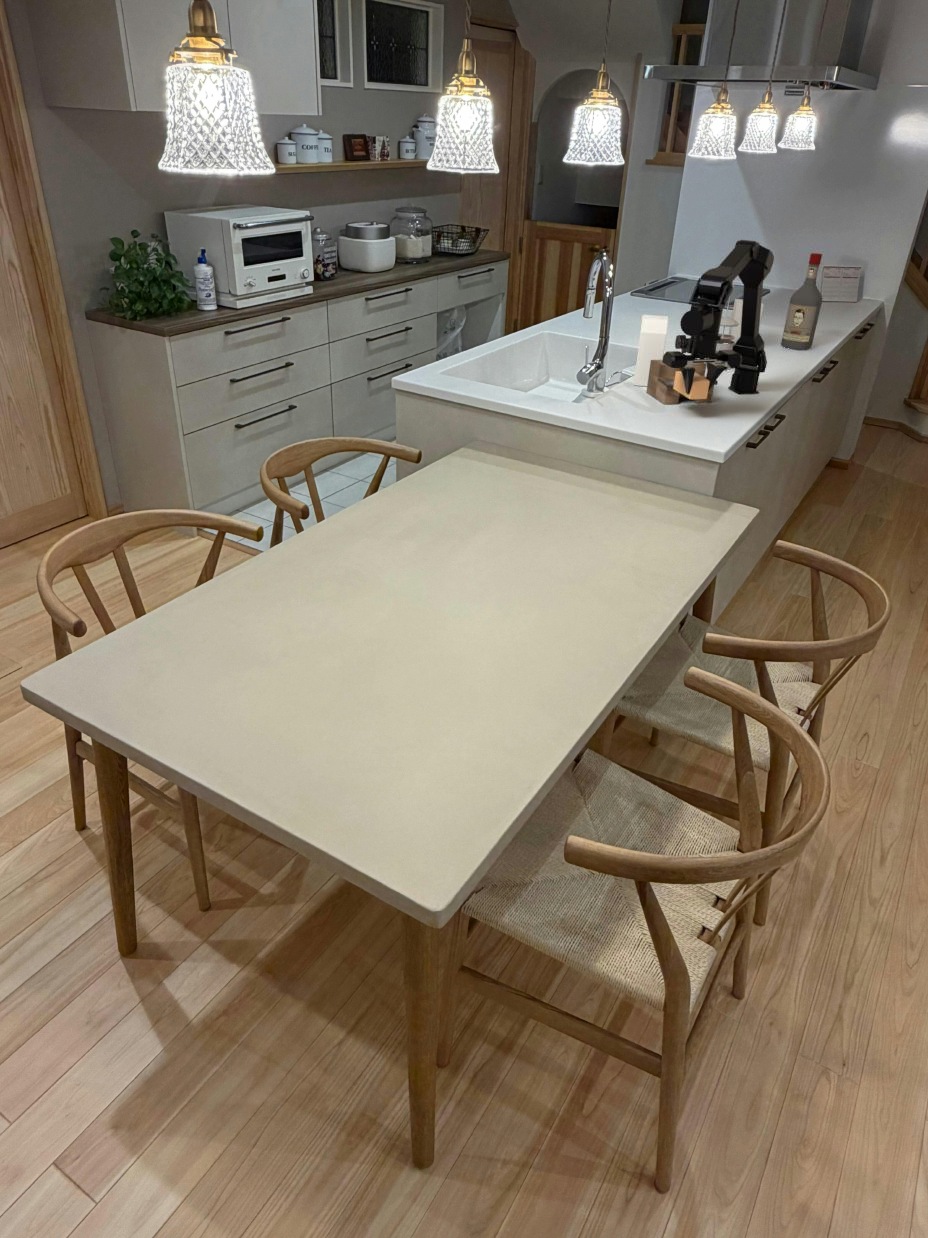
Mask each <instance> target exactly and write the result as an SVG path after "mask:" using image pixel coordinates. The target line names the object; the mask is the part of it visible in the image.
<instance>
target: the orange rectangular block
mask: <svg viewBox="0 0 928 1238" xmlns="http://www.w3.org/2000/svg"><path fill="white" fill-rule="evenodd" d="M709 382H710V381H709V380H707V379H706V378H704V377H702V376H700V375H699V374H697V373H694V378H693V382H692V387H691V391H690V393H689V394H686V390H685V385H684V379H683V375H682V372H681V371H676V374H675V380H674V387H673V389H675V390H676V391H678V392H679V393H681V394H682V395H684V396H686V397H685V398H686V399H689V400H691V399H707V394H708V388H709Z"/></svg>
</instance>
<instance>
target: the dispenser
mask: <svg viewBox="0 0 928 1238" xmlns="http://www.w3.org/2000/svg"><path fill="white" fill-rule="evenodd" d="M662 361H663V360H651V362H650V370H649V377H648V384H647V386H646V394H648V395H649V396H651V397H652V398H654V399H655V400H657V401H658V402H659V403H661V404H662V405H664V406H669V405H679V399H680V398H682V399H683V398H687V397H686V396H684V395H682V394H681V393H679V392H678V391H676V390H675V389H673V387H674V380H675V374H676V371H681V370H680V368H671V367H669V366H667V365H666V364H664V363H662ZM693 368H695V373H697V374H699V375H700V376H702V377H704V378H706V375H705V374H706V371H707V370H706V363H693ZM718 383H719V381H718V380H717V379H716V381H715V382H714V384H713V385H712V387H711V388H710V390H709V391H708V394H707V399H690V400H691V401H693V402H695V404H712V398H713V394H714V389H715V386H717V385H718Z"/></svg>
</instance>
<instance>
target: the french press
mask: <svg viewBox="0 0 928 1238" xmlns="http://www.w3.org/2000/svg"><path fill="white" fill-rule="evenodd" d="M732 284H733V289H734V288H735V287H736V285H735V284H734V283H733V282H732ZM730 299H731V296H730V297H729V299H728V301H727V308H726V312H725V313H726V314H725V316H722V317H721V323H720V327H723V331H722V333H719V335H720V336H721V339H720V340H717V346H716V353H717V352H718V351H719V350H732V349H733V346H734V344H735V342H734V341H732V339H734V338H735V337H734V336H732V335H729V333H728V334H727V333H724V332H725V328H726V327H727V328H730V327H735V326H738V325H739V323H738V322H737V321H735V320H734V319H732V317H728V311H729V305H730ZM727 343H729V344H727ZM705 359H709V358H705ZM705 363H706V369H707V362H705ZM725 366H726V367H727V370H731V369H733V368H730V367H731V366H729V365H728V363H727V362H726V363H725ZM727 370H724V371H727Z"/></svg>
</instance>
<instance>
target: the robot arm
mask: <svg viewBox="0 0 928 1238" xmlns="http://www.w3.org/2000/svg"><path fill="white" fill-rule="evenodd" d="M774 261H775V256H774V254H773V252H772V251H771V250H770V249H769V248H767V247H765V246H763V245H761V244H760V243H759V242H757V241H756V240H747V239H746V240H745V239H740V240H737V241H736V243H735V246H734V248H733V249H732V250H731V251H730V252H729V254H727V256H726V257H725V258H724V259H723V260H722V261H721V263H720V264H719V265H718V266H717V267H715V268H710V269H708V270H707V271H705V272H704V273H702V274H701V276H700V277H699V278H698V280H697V281H696V284H695V287H694V289H693V291H692V293H691V296H690V299H689V301H688V304H689V305H690V310H689V311H686V312H684V313H683V314H682V317H681V318H680V321H679V322H680V329H681V330H682V332H683V334H679V335H676V337H675V340H674V341H675V342H674V348H675V349H676V350H677V351H676V350H673V351H672V350H671V351H665V352H664V355H663V361H662V363H664V364H666V365H667V366H669V367H671V368H680V370H681V372H682V375H683V379H684V385H685V390H686V394H689V393H690V391H691V387H692V382H693V378H694V373H695V368H693V363H705V362H707V370H706V371H707V372H706V375H705V376H706V379H707V380H709V381H710V382H709V388H708V391H709V390H710V388H711V387H712V385H713V384H714V382H715V381H716V380H717V379H718V378H719V377H720V376H721V375H722V373H724V372H723V371H724V370H727V367H726V366H725V363H726V362H727V363H728V365H729V366H731V367H730V368H732V369H733V370H734V372H733V373H732V374H731V380H730V385H729V386H728V387H727V388H728V389H729V390H730V391H732V392H734V393H736V394H738V395H746V394H747V395H748V394H749V395H750V394H760V391H758V390H757V387H758V384H759V379H760V373H765V372H766V369H767V365H768V360H767V355H766V351H765V341H764V339H763V338H762V335H761V334H760V327H759V325H761V322H760V313H761V302H763V301H762V300H763V298H762V297H763V287H764V281H765V279H766V278H767V277H768V275H769V274H770V273H771V270H772V267H773V264H774ZM737 277H738V278H739V279H740V281H741V283H742V284H743V295H742V299H743V305H742V320H741V334H740V338H739V339H738V340H737V342H736V343H735V344H734V346H733V349H732V350H719V351H718V352H717V353H716V346H717V340H720V339H721V336H720V335H719V334H720V328H721V326H720V323H721V317H723V311H724V309H725V307H726V304H728V302H729V297H730V298H731V296H732V295H731V294H732V292H733V291H734V290H733V289H734V288H733V284H734V283H733V282H734V280H735V279H736V278H737ZM732 283H733V284H732ZM686 336H689V337H686ZM679 350H681V351H679ZM686 353H687V354H686ZM706 358H709V359H706Z"/></svg>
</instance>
